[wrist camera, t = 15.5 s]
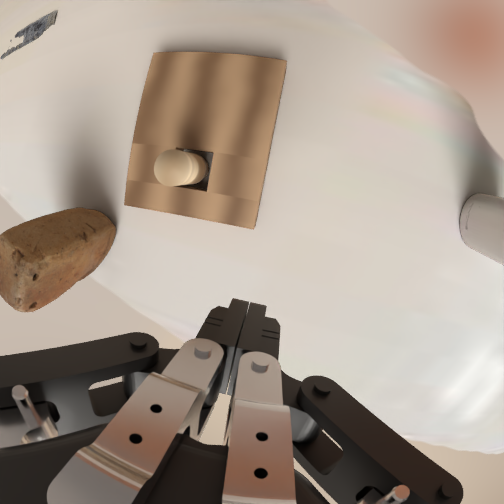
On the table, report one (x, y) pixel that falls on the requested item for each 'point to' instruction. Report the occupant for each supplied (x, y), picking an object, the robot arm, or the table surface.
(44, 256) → the block
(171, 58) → the board
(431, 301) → the table surface
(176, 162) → the peg
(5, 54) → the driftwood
